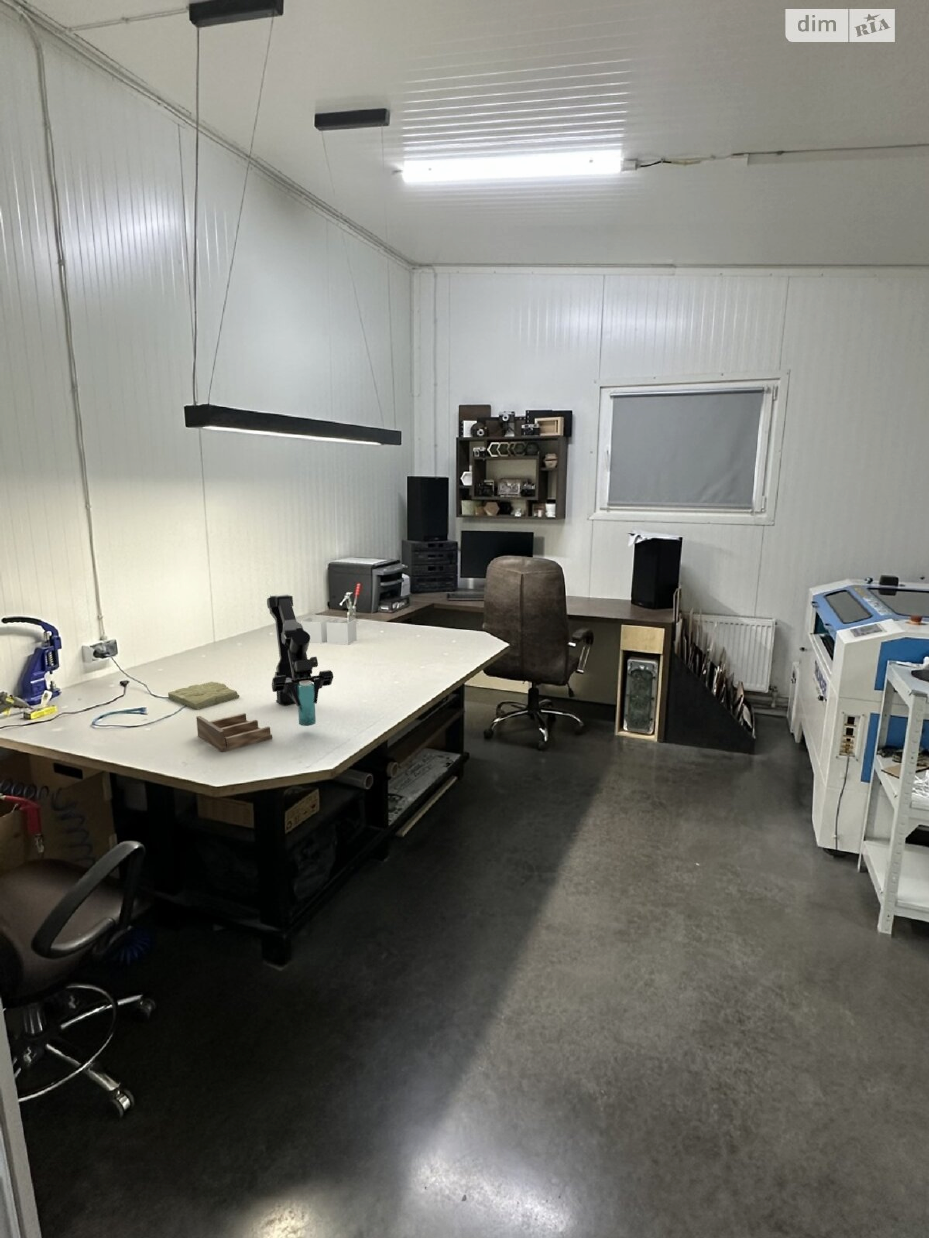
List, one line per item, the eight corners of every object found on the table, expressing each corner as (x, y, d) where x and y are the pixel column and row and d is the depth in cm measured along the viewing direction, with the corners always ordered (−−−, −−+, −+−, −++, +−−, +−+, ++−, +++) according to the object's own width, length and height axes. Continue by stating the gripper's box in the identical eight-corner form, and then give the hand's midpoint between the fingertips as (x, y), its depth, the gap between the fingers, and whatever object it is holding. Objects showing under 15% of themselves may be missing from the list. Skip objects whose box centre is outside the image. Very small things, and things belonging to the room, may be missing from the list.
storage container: (301, 642, 335) (300, 621, 333) (311, 638, 346) (310, 617, 343) (348, 645, 329) (347, 623, 327) (356, 640, 340) (356, 619, 338)
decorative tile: (196, 711, 234) (195, 701, 234) (167, 699, 247) (166, 690, 246) (244, 698, 249) (243, 689, 248) (214, 688, 261) (214, 679, 261)
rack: (246, 723, 221) (245, 705, 220) (272, 738, 208) (271, 719, 207) (197, 735, 210) (196, 716, 209) (221, 752, 197) (220, 732, 196)
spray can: (310, 718, 217) (308, 678, 214) (318, 723, 213) (317, 682, 210) (295, 722, 213) (293, 681, 210) (304, 727, 209) (302, 685, 207)
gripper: (271, 651, 208) (278, 695, 200) (330, 645, 216) (340, 688, 208) (268, 669, 217) (276, 712, 209) (326, 663, 224) (335, 704, 217)
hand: (307, 704), depth 210 cm, fingers closed on spray can, 5 cm apart
